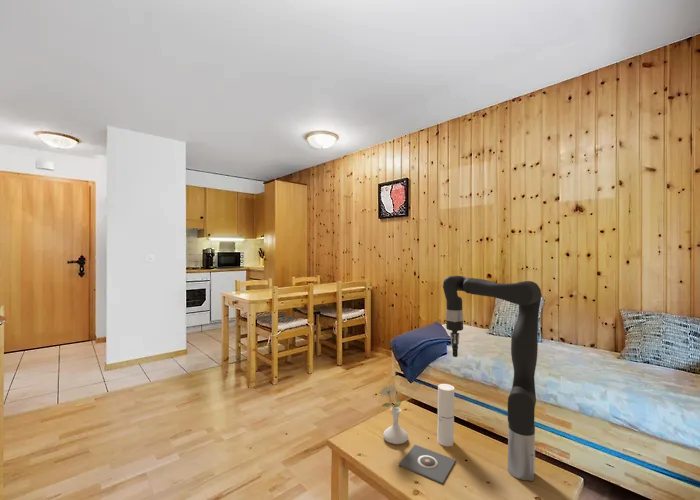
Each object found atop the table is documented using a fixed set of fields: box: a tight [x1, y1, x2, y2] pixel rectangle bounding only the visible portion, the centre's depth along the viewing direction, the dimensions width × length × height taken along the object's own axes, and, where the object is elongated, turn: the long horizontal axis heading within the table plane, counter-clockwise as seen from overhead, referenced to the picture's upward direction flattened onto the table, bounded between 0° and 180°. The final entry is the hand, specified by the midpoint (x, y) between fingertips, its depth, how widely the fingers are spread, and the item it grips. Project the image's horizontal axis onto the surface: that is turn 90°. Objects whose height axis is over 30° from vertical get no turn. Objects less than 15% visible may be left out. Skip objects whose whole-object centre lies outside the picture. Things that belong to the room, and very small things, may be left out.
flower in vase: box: [379, 384, 409, 445], centre depth 152 cm, size 13×11×25 cm
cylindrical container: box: [436, 383, 455, 447], centre depth 151 cm, size 7×7×25 cm
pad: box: [398, 444, 457, 485], centre depth 136 cm, size 18×16×1 cm
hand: (455, 356), depth 154 cm, fingers closed
